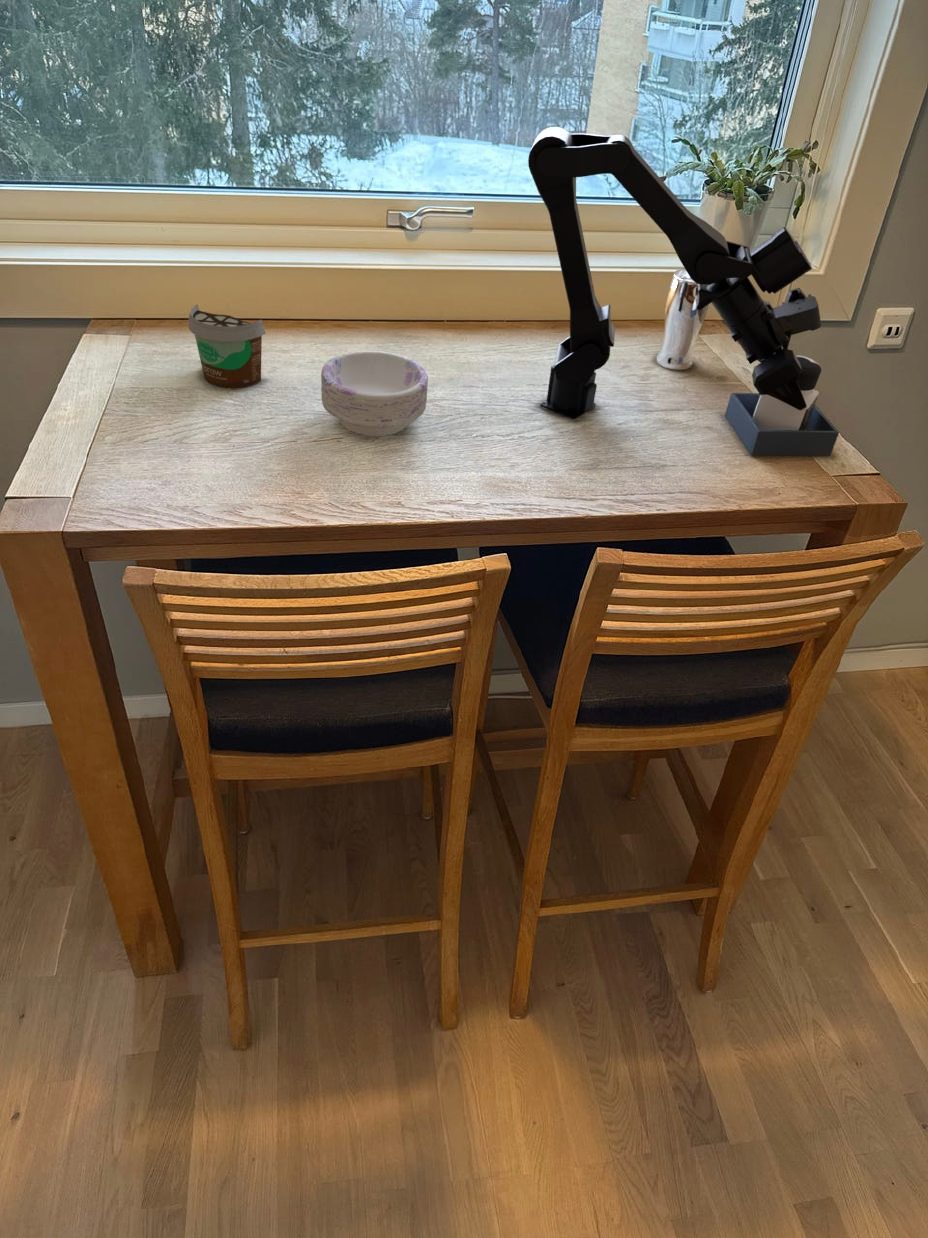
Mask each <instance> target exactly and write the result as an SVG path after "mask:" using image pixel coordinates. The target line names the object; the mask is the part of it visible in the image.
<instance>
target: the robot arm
mask: <svg viewBox="0 0 928 1238" xmlns="http://www.w3.org/2000/svg"><path fill="white" fill-rule="evenodd" d="M527 162H528V164H527V165H528V169H529V172H530V174H531V178H532V180H533V183H534V185H535V187H536V190H537V192H538V194H539V196H540V198H541V200H542V203H544V206H545V207H546V209H547V211H548V215H549V218H550V223H551V228H552V233H553V237H554V242H555V246H556V251H557V255H558V260H559V265H560V270H561V274H562V280H563V284H564V288H565V293H566V297H567V302H568V307H569V336H568V337H567V338H565V339H564V340H562V341H561V342H560V343H558V345H557V351H556V356H555V361H554V364H553V365H551V367H550V373H549V380H548V388H547V395H546V399H545V400H543V401H542V402H540V407H541V408H543V409H545V410H548V411H550V412H553V413H556V414H558V415H561V416H563V417H566V418H568V419H570V420H578V418H581V417H582V416H583V415H586V414H587V413H589V412H590V411H592V410H593V409H595V408H596V403H595V398H596V393H597V388H598V385H597V383H596V377H597V372H595V371H596V370H599V369H601V368H602V367H603V366H605V365H606V363H607V362H608V361H609V359H610V356H611V348H613V347H615V335H616V334H615V333H616V328H615V326H614V324H613V322H612V319H611V318H612V317H611V304H607V305H604V306H601V305H600V303H599V300H598V299H597V296H596V293H595V292H596V291H595V288H594V282H593V277H592V273H591V266H590V262H589V257H588V252H587V247H586V242H585V236H584V232H583V227H582V221H581V215H580V212H579V211H580V210H579V206H578V201H577V178H583V177H584V178H585V177H590V176H598V175H612V176H613V177H614V178H615V180H616V181H618V184H620V185H621V187H623V188H624V189H625V191H626V192H627V193H628V194H629V195H630V196H631V197H632V198H633V200H634V201H635V202H636V203H637V204H638V205H639V207H641V209H642V210H643V211H644V212H645V213H646V214H647V215H648V217H649V218H650V219H651V220H652V221H653V222H654V223H655V225H656V226H657V227H658V228H659V229H660V230H661V231H662V232H663V234H665V236H666V237H667V238H668V240H669V242H670V243H671V246H672V247H673V249H674V252H675V254H676V255H677V257H678V259H679V261H680V263H681V264H682V266H683V269H686V271H687V273H688V274H689V276H690V278H691V279H692V280H693V281H694V282H696V283H697V284H700V285H699V286H698V295H697V298H696V307H697V310H701V309H703V308H704V307H706V306H707V305H708V304H709V305H710V304H712V306H713V307H714V309H715V311H716V312H717V313H718V315H719V317H721V319H722V321H723V322H724V323H725V325H726V327H727V328H728V329H729V332H730V336H731V338H732V339H733V341H734V342H735V343H737V342H738V344H739V346H740V347H741V349H742V350H743V351H744V353H745V357H746V360H747V362H748V363H749V364H750V365H751V364H753V363H754V362H756V361H757V362H759V363H758V364H757V365H755V366H753V370H752V373H751V378H752V383H753V386H754V388H755V390H756V391H757V393H759V394H760V395H769V396H772V397H774V398H776V399H778V400H780V401H782V402H784V403H786V404H788V405H790V406H792V407H794V408H796V409H798V410H802V409H804V408H806V407H807V405H806V402H805V400H804V397H803V395H802V392H801V389H800V387H799V384H798V382H797V378H798V375H799V374H800V373H801V371H802V368H801V365H800V362H799V360H798V359H797V357H796V355H797V354H796V353H795V351H794V350H793V349H789V345H790V342H791V338H792V336H793V335H797V334H801V333H804V332H807V331H808V332H809V331H816V330H818V329H820V328H821V327H822V320H821V313H820V307H819V303H818V300H817V298H816V296H814V295H812V294H811V293H810V294H807V295H806V294H805V292H804V291H803V290H802V289H801V288H800V287H797V288H793V289H789V290H788V293H787V296H786V298H785V301H782V302H781V304H780V305H778V306H775V307H773V306H772V304H771V303H770V302H769V301H768V300H767V301H766V300H763V298H762V297H761V295H760V294H759V292H758V290H757V289H756V288H755V286H754V284H753V283H752V281H751V280H750V278H749V277H750V276H752V278H753V280H754V282H755V283H756V285H757V286H758V288H759V289H760V290H761V292H762V293H765V292H767V294H769V295H770V294H771V293H773V294H777V293H778V292H780V291H781V290H783V289H784V288H786V287H787V286H789V285H790V284H792V283H793V282H795V281H796V280H798V279H800V278H801V277H802V276H804V275H805V274H807V273H809V271H811V270H813V267H812V265H811V262H810V261H809V259H808V257H807V255H806V254H805V252H804V250H803V248H802V247H801V245H800V243H799V242H798V240H795V239H794V237H793V236H792V234H791V233H790V231H789V230H788V228H787V227H786V226H782V227H781V228H779V229H778V230H776V231H775V232H774V233H773V234H772V235H771V236H770V237H769V238H768V239H766V240H764V241H763V242H762V243H761V244H759V245H758V246H756V247H755V248H753V249H752V250H751V249H750V247H749V246H747V245H744V244H740V243H736V242H732V241H729V240H727V239H726V238H725V236H724V235H723V234H722V233H721V232H720V231H719V230H717V229H716V228H714V227H713V226H712V225H711V224H710V223H708V222H707V221H705V220H704V219H702V218H700V217H698V216H697V215H695V214H694V213H692V212H691V211H690V210H689V209H687V207H686V206H685V205H684V204H683V203H682V201H681V200H680V199H679V198H678V197H677V195H675V193H674V192H673V191H672V190H671V189H670V187H669V186H668V185H667V184H666V183H665V182H664V181H663V179H662V178H661V177H660V176H659V175H658V174H657V173H656V171H654V169H653V168H652V167H651V165H649V163H648V162H647V161H646V160H645V159H644V158H643V156H641V154H640V153H639V152H638V151H637V149H635V147H634V145H633V143H632V141H631V140H630V138H628V137H627V136H625V135H624V134H614V135H601V134H593V133H583V132H582V133H570V132H569V131H568V130H567V129H564V128H563V127H559V126H551V127H547V128H545V129H543V130H542V131H541V132H540V133H539V134H537V136H536V139H535V140H534V142H533V144H532V147H531V148H530V151H529V155H528V160H527Z"/></svg>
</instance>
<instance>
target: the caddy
mask: <svg viewBox="0 0 928 1238" xmlns="http://www.w3.org/2000/svg"><path fill="white" fill-rule="evenodd" d="M759 398H760V394H759V392H730V396H729V399H728V403H727V406H726V409H725V413H724V417H725V419H726V420H727V421H728V423H729V424H730V426H731V428H732V430H733V431H734V432H735V434H736V435H737V436H738V438H739V439H740V441H741V442H742V444H743V446H744V447H745V449H746V450H747V451H748V453H749V454H750V456H762V457H765V456H766V457H769V456H770V457H831V455H832V453H833V450H834V447H835V445H836V442H837V439H838V437H839V434H840V432H839V430H838V429H837V428H836V426H834V425H833V423H832V422H831V421H830V420H829V419H828V418H827V416H826V415H825V414H824V412H822V411H821V409H820V408H819V407H818V406H817V404H815V405H814V408H813V410H812V413H811V415H810V418H809V420H808V423H807V425H806V428H805V431H801V430H760V428H759V427H758V425H757V424H756V423H755V421H754V420H753V415H754V412H755V409H756V406H757V403H758V401H759Z"/></svg>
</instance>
